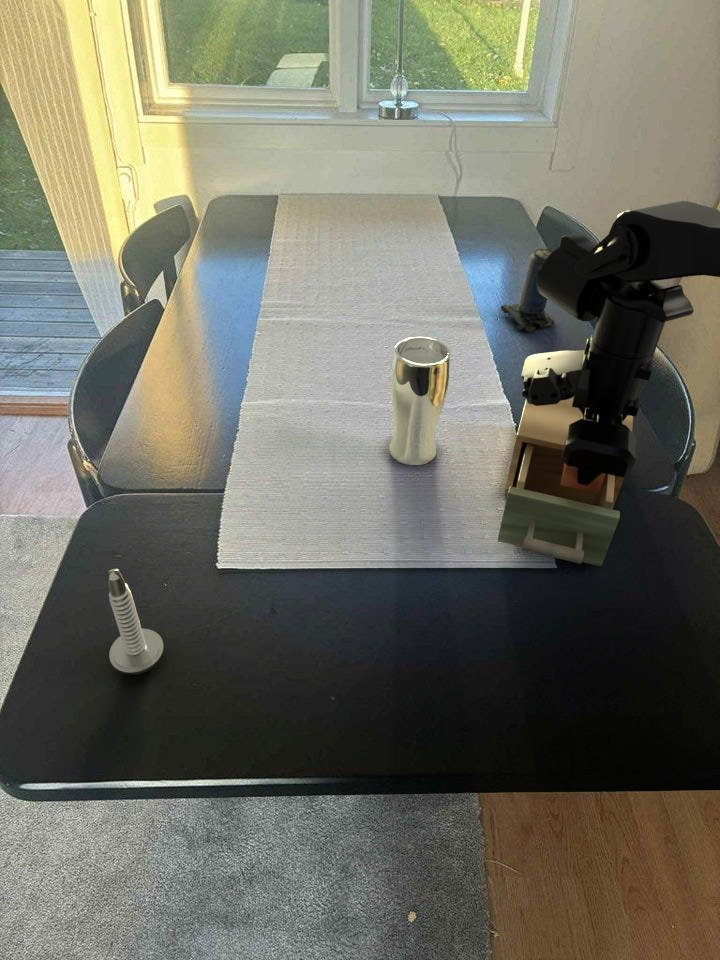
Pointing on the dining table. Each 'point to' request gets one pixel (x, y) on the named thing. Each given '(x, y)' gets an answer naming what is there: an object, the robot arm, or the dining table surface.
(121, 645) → the screw
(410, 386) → the beer glass
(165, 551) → the dining table surface
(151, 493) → the dining table surface
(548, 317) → the grey post with base
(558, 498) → the drawer
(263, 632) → the dining table surface
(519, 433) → the cabinet
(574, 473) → the block
